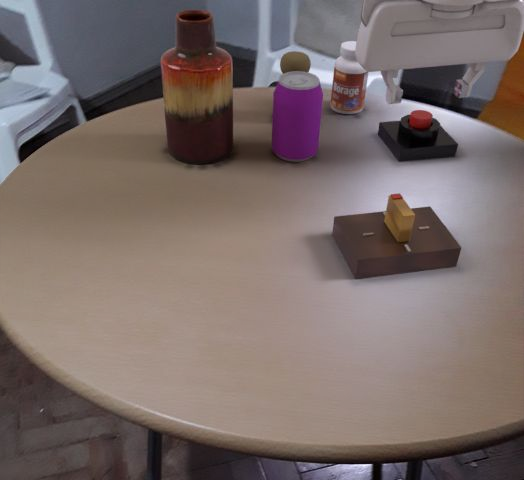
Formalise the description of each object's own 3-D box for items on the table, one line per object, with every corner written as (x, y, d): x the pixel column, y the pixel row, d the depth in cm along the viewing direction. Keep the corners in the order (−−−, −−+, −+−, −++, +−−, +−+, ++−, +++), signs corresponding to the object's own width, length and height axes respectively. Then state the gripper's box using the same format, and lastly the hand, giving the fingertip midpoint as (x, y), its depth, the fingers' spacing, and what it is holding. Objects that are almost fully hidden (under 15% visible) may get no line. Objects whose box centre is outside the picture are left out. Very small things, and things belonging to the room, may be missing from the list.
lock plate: (425, 224, 89) (430, 205, 87) (456, 266, 83) (462, 246, 80) (331, 235, 87) (334, 215, 85) (355, 279, 80) (358, 259, 78)
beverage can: (298, 137, 108) (303, 65, 99) (327, 156, 103) (334, 82, 95) (262, 149, 104) (264, 75, 96) (289, 168, 100) (294, 93, 92)
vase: (193, 171, 98) (185, 33, 84) (155, 146, 104) (141, 12, 90) (246, 151, 104) (247, 18, 89) (207, 128, 109) (202, -1, 95)
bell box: (430, 129, 111) (435, 107, 108) (455, 156, 104) (461, 133, 101) (377, 134, 109) (381, 111, 106) (398, 161, 102) (403, 138, 100)
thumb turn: (409, 241, 81) (415, 212, 78) (397, 242, 81) (403, 214, 78) (394, 220, 84) (400, 192, 82) (383, 221, 84) (388, 193, 81)
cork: (288, 127, 110) (291, 63, 103) (268, 114, 114) (271, 51, 106) (315, 120, 113) (321, 56, 105) (296, 107, 116) (299, 45, 109)
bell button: (425, 119, 106) (427, 109, 105) (434, 128, 103) (436, 118, 102) (405, 120, 105) (407, 110, 104) (413, 130, 103) (415, 120, 101)
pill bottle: (325, 111, 115) (331, 48, 107) (335, 99, 119) (342, 37, 112) (358, 118, 114) (366, 54, 106) (367, 105, 118) (376, 42, 110)
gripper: (374, -9, 67) (358, 117, 77) (546, -20, 70) (510, 102, 80) (354, -26, 71) (342, 95, 81) (517, -35, 75) (487, 82, 84)
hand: (427, 99), depth 81 cm, fingers open, 8 cm apart
